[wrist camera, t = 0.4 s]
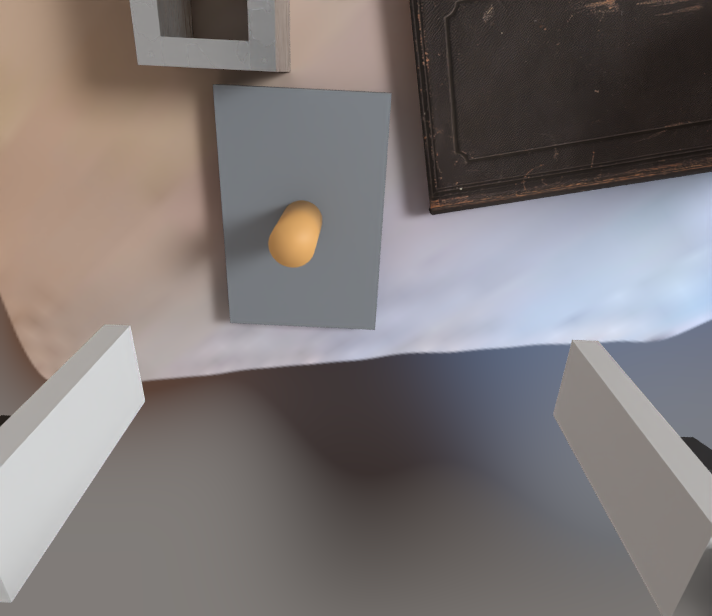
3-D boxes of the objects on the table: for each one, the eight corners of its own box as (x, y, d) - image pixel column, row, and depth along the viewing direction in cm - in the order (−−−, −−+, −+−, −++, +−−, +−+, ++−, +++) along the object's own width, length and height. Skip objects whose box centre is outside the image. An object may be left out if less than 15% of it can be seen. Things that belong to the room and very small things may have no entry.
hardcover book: (403, -32, 32) (406, -40, 30) (781, -108, 30) (812, -121, 28) (428, 209, 38) (431, 217, 36) (737, 161, 36) (759, 167, 34)
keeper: (218, 84, 34) (182, 86, 28) (390, 92, 34) (396, 97, 28) (234, 314, 42) (209, 361, 35) (374, 321, 42) (376, 369, 35)
